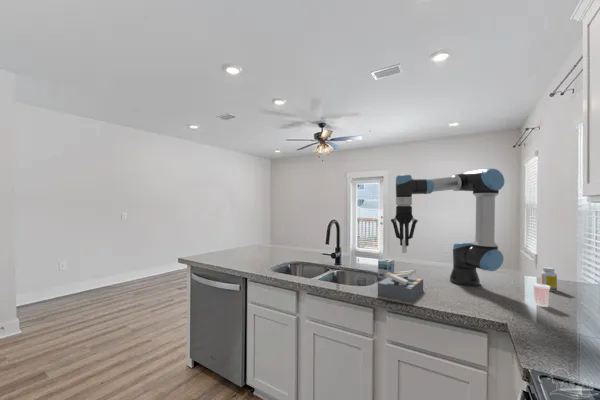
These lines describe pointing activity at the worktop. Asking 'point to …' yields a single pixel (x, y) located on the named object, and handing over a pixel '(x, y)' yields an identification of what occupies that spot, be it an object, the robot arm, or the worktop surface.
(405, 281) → the rocker
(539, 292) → the beverage cup
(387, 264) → the light bulb box
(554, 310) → the worktop surface
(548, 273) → the pill bottle
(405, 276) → the rocker
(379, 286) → the box
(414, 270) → the rocker
